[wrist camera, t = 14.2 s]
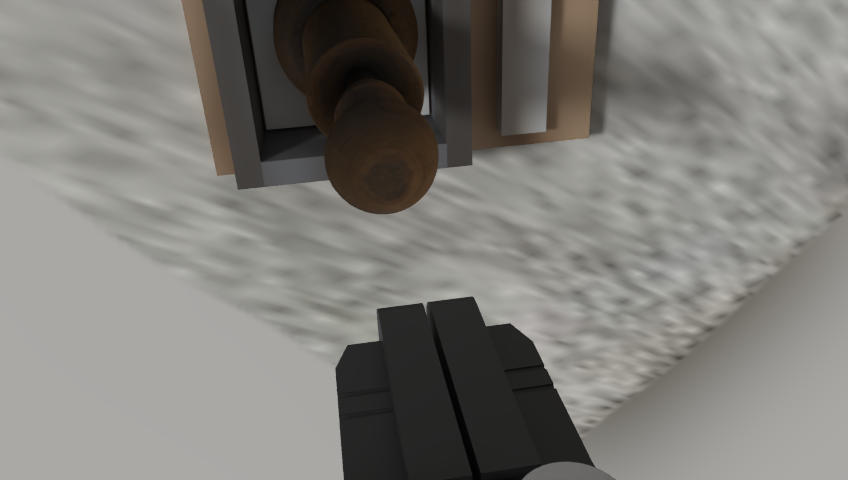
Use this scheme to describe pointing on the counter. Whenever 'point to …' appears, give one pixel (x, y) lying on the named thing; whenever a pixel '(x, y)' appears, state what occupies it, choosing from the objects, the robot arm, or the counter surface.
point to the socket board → (439, 68)
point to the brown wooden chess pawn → (362, 96)
